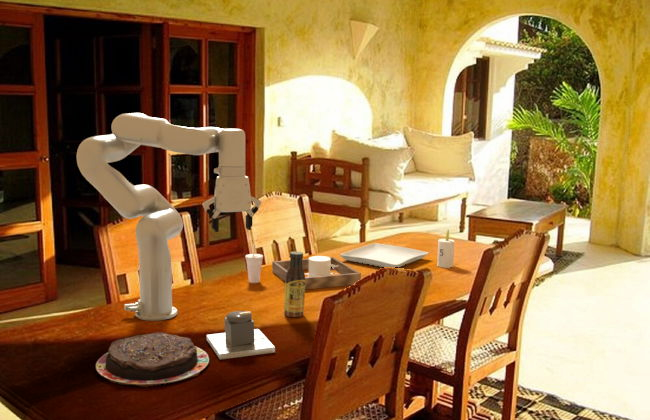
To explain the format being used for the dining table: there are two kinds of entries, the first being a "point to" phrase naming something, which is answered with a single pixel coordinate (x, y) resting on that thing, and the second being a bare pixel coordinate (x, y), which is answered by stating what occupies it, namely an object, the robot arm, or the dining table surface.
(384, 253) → the square plate
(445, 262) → the candle
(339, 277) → the frame
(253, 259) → the smoothie
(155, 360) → the chocolate cake
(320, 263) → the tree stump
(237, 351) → the shaft base
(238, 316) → the knob
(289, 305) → the sauce bottle
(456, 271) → the dining table surface
